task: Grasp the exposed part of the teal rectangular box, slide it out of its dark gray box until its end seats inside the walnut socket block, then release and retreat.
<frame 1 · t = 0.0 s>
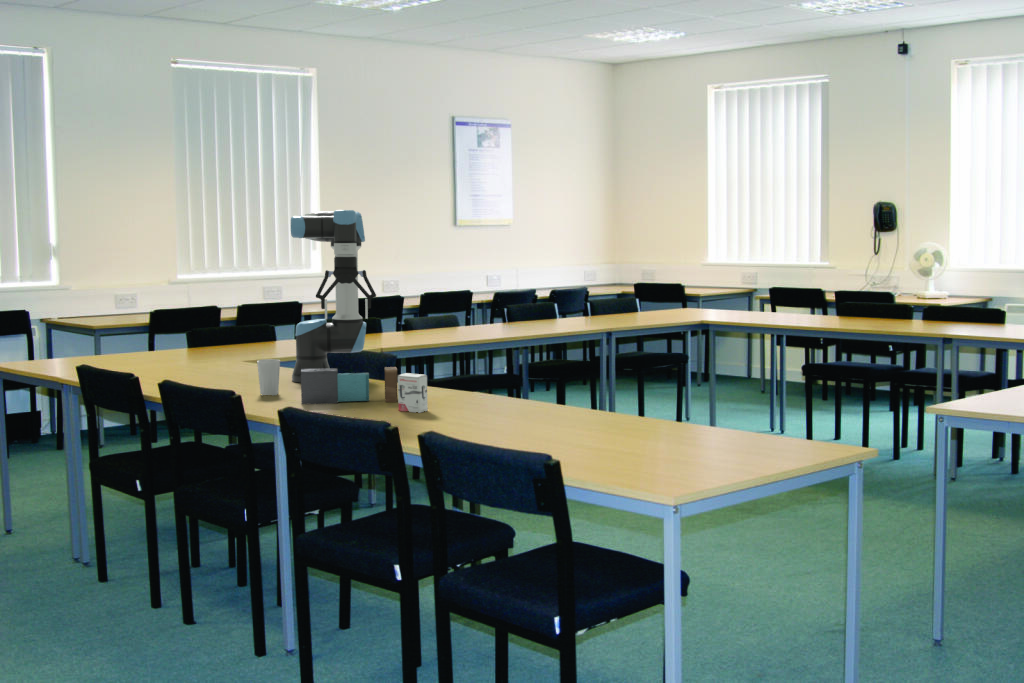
hand: (346, 318, 369), 28 cm above the table, fingers open, 13 cm apart
ink box: (412, 411, 351), on the table
teal rectangular box: (336, 387, 368), point 5 cm above the table, slide at 0.0 cm
dark gray box: (319, 402, 368), on the table
cup: (269, 394, 385), on the table
socket: (391, 400, 372), on the table
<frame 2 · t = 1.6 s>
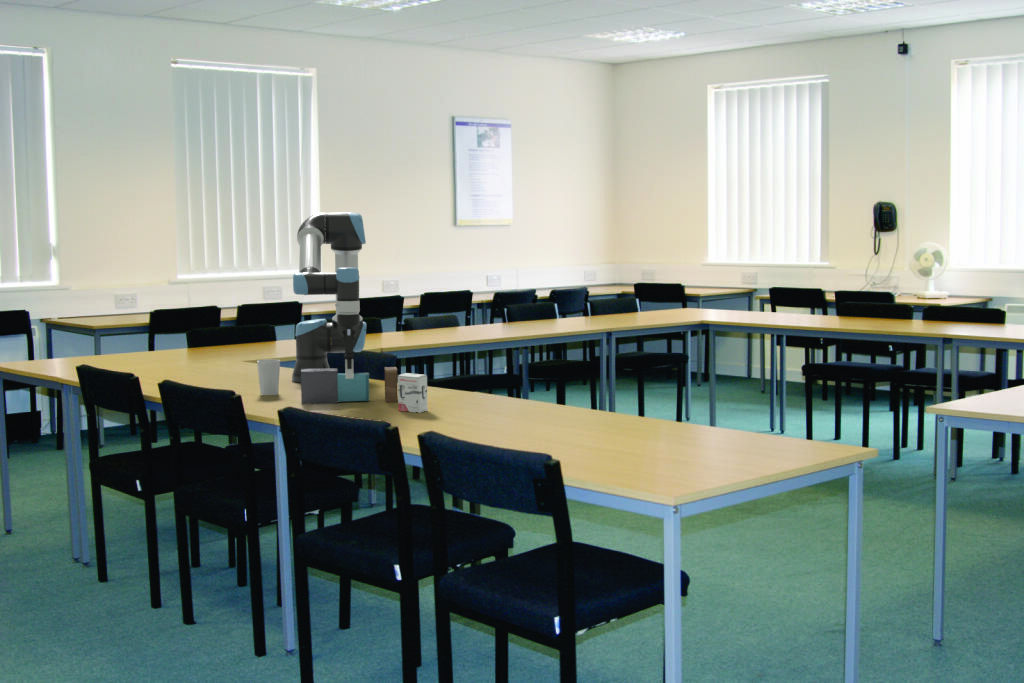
hand: (349, 376, 368), 9 cm above the table, fingers open, 13 cm apart
nothing on the table moved.
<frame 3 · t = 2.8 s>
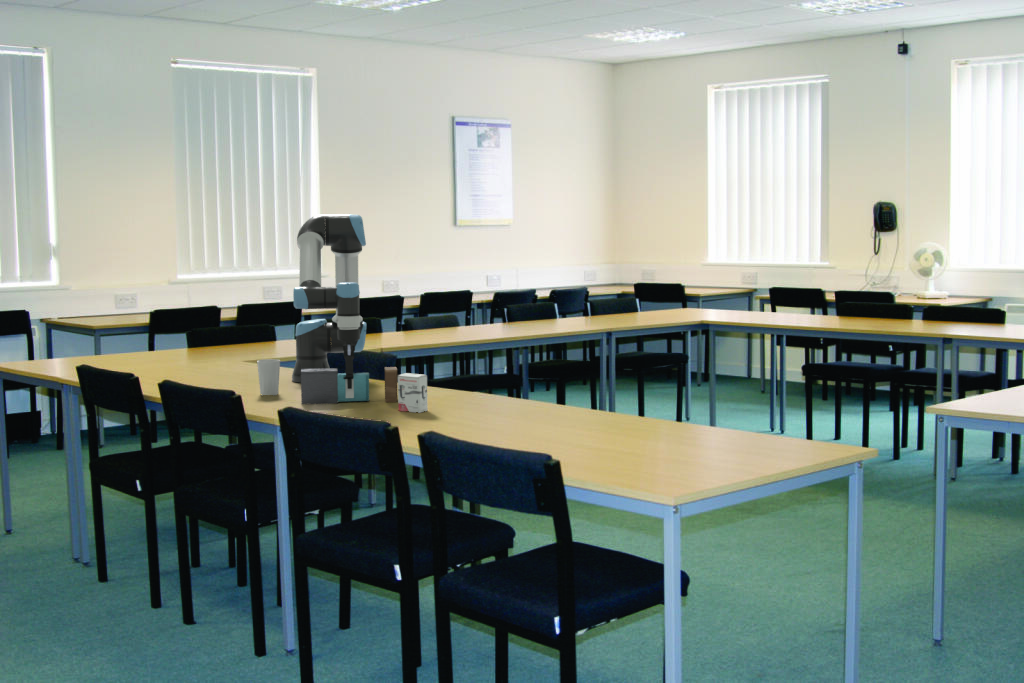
hand: (349, 396, 369), 2 cm above the table, fingers closed on teal rectangular box, 4 cm apart
teal rectangular box: (336, 387, 368), point 5 cm above the table, slide at 0.0 cm, touching gripper
everything else where it was.
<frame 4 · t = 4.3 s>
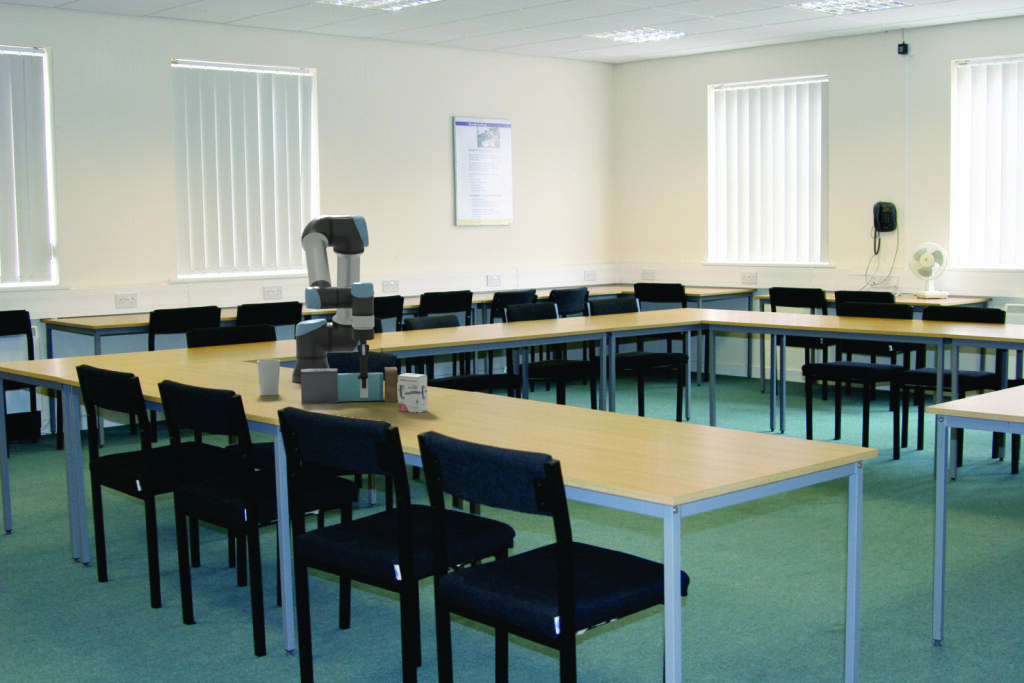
hand: (364, 396, 370), 2 cm above the table, fingers closed on teal rectangular box, 4 cm apart
teal rectangular box: (350, 387, 369), point 5 cm above the table, slide at 4.8 cm, touching gripper
everything else where it was.
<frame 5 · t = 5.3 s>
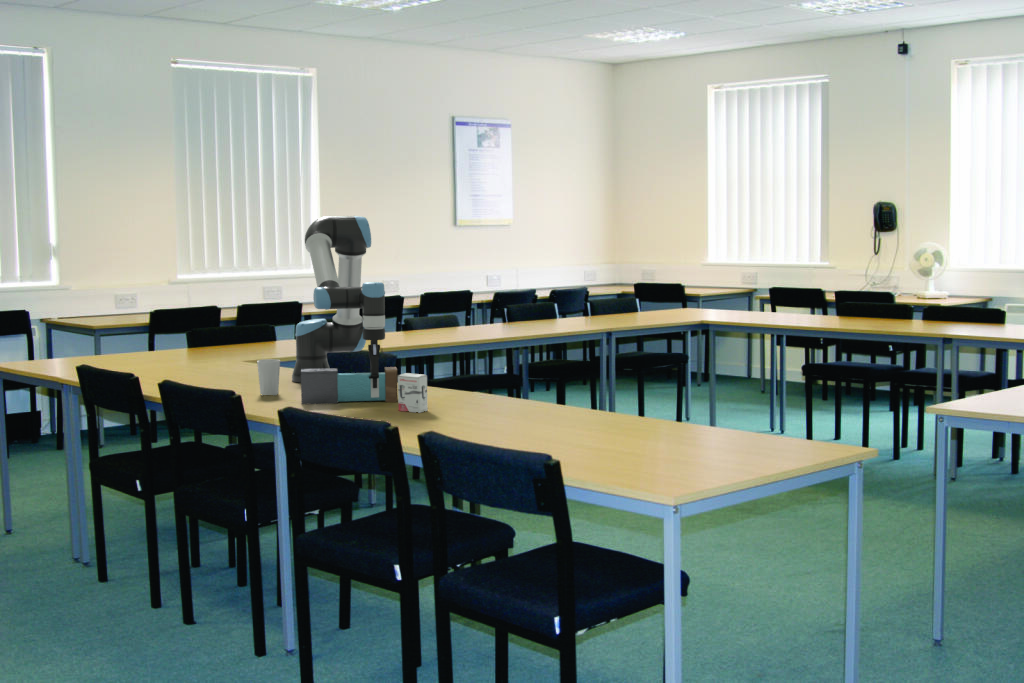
hand: (374, 396, 371), 2 cm above the table, fingers closed on teal rectangular box, 4 cm apart
teal rectangular box: (361, 386, 369), point 5 cm above the table, slide at 8.4 cm, touching gripper
everything else where it was.
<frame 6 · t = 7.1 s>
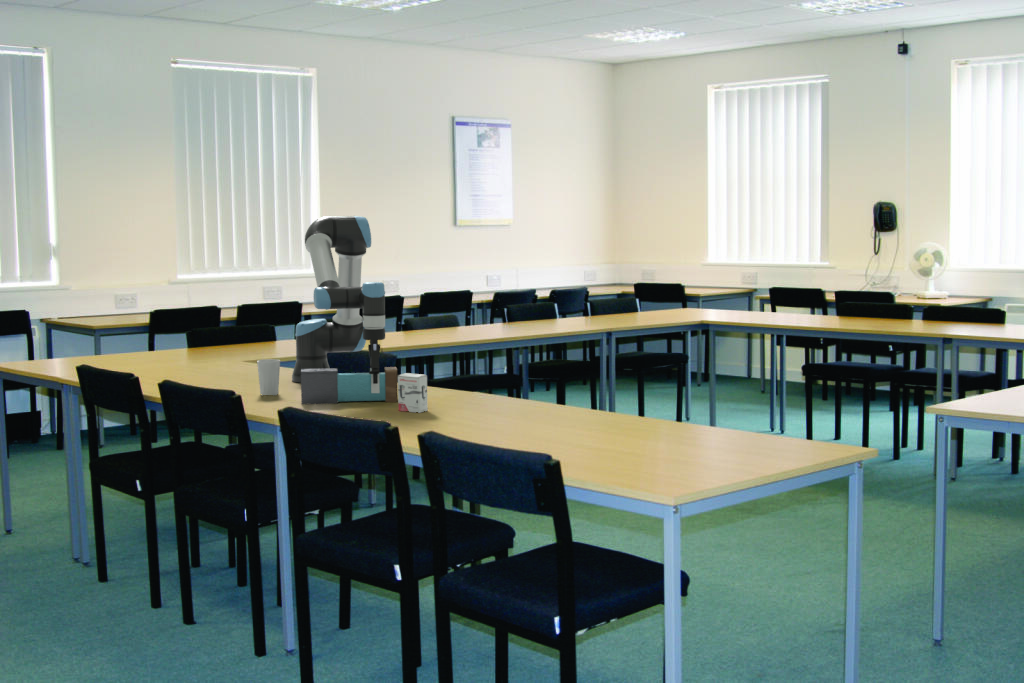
hand: (374, 390, 370), 4 cm above the table, fingers open, 13 cm apart
teal rectangular box: (361, 386, 369), point 5 cm above the table, slide at 8.5 cm
everything else where it was.
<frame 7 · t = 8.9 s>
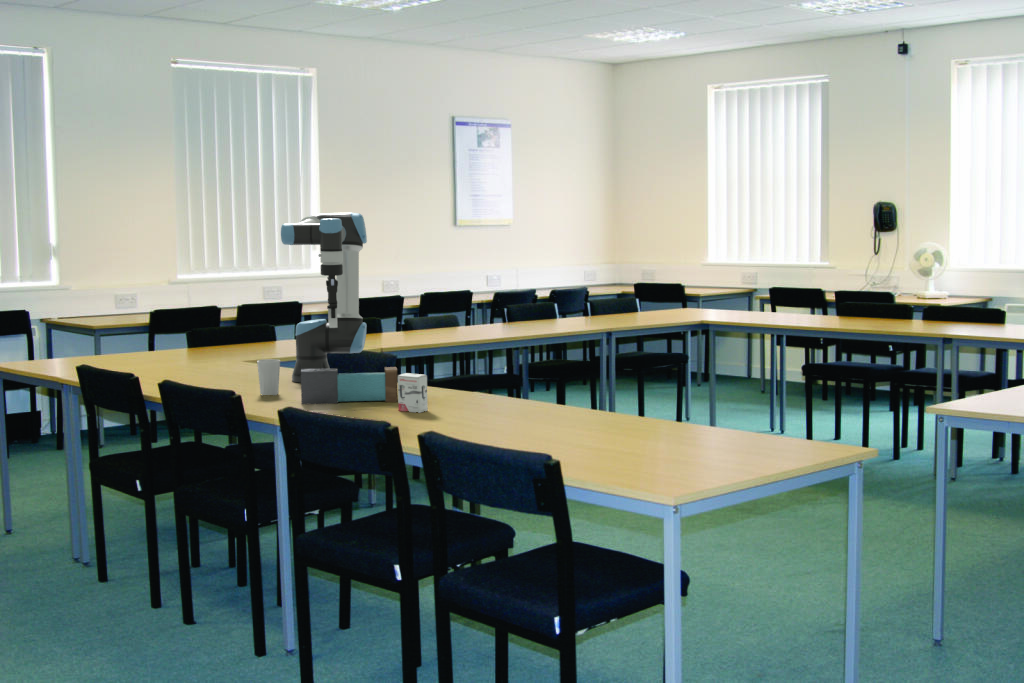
hand: (332, 325, 376), 25 cm above the table, fingers open, 13 cm apart
nothing on the table moved.
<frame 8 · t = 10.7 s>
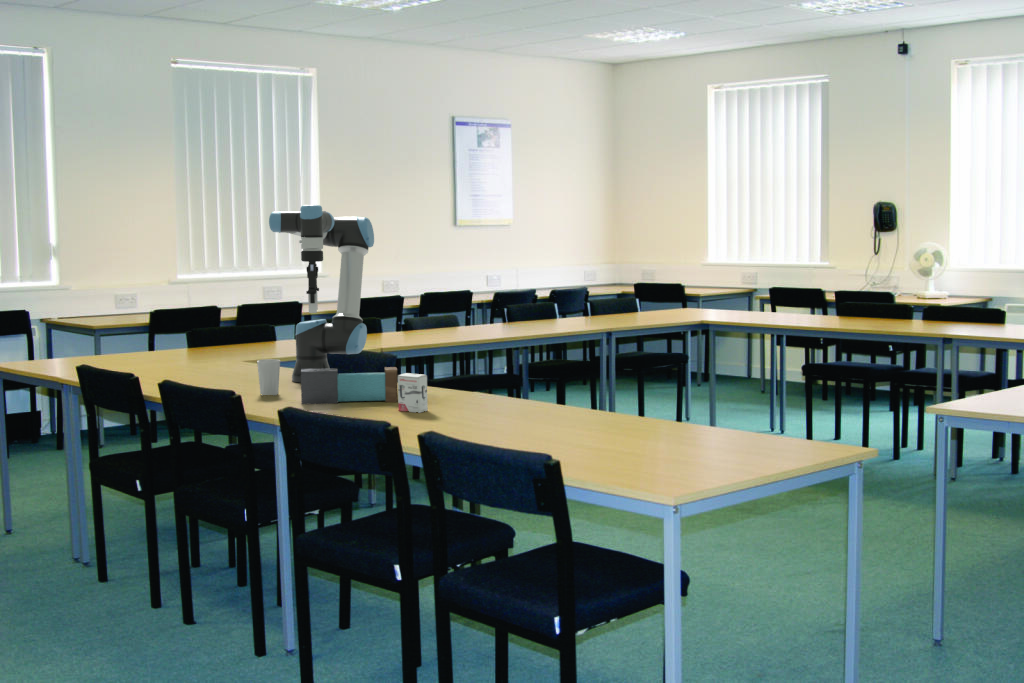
hand: (313, 311, 378), 30 cm above the table, fingers open, 13 cm apart
nothing on the table moved.
at the end: teal rectangular box slide at 8.5 cm; the gripper is holding nothing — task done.
